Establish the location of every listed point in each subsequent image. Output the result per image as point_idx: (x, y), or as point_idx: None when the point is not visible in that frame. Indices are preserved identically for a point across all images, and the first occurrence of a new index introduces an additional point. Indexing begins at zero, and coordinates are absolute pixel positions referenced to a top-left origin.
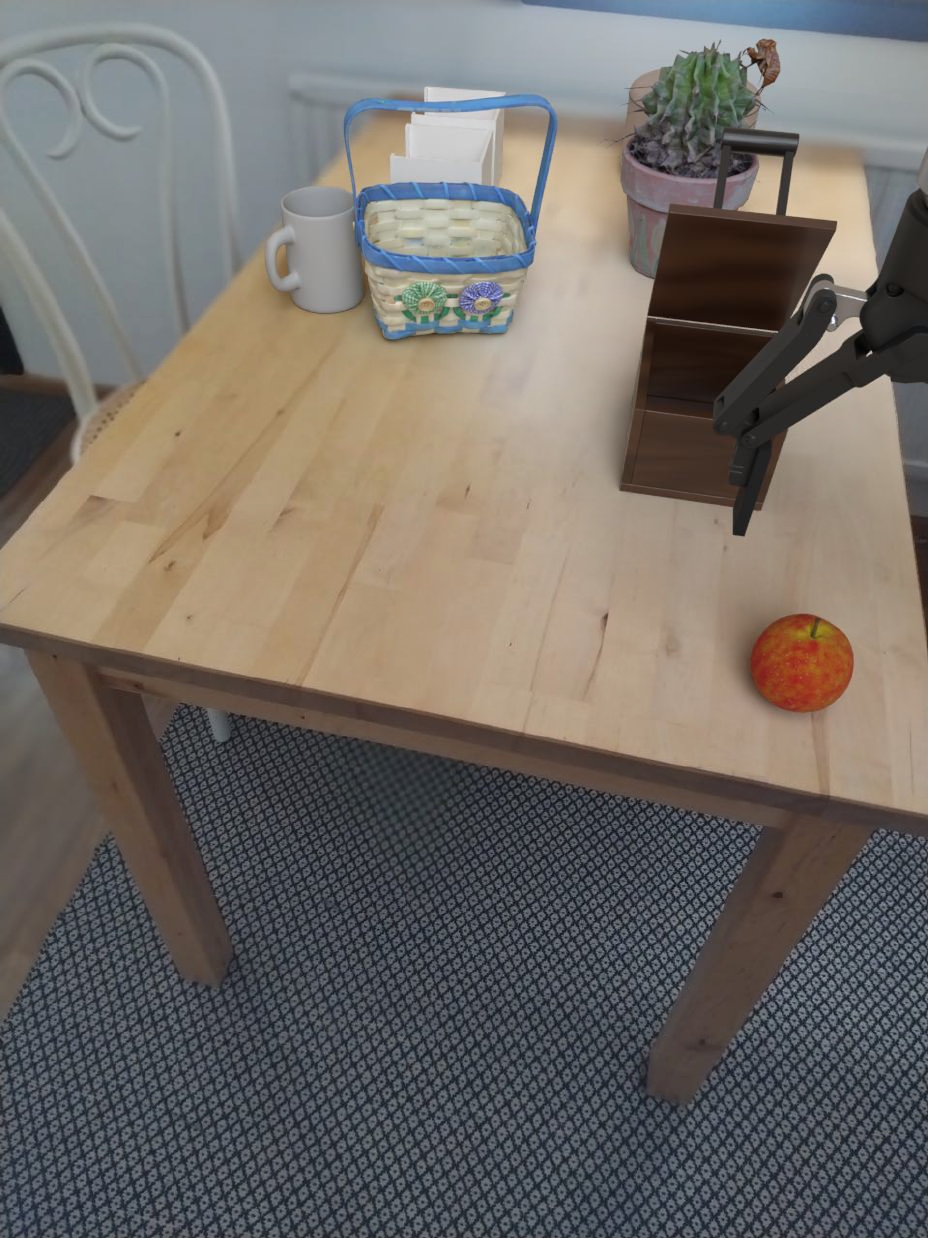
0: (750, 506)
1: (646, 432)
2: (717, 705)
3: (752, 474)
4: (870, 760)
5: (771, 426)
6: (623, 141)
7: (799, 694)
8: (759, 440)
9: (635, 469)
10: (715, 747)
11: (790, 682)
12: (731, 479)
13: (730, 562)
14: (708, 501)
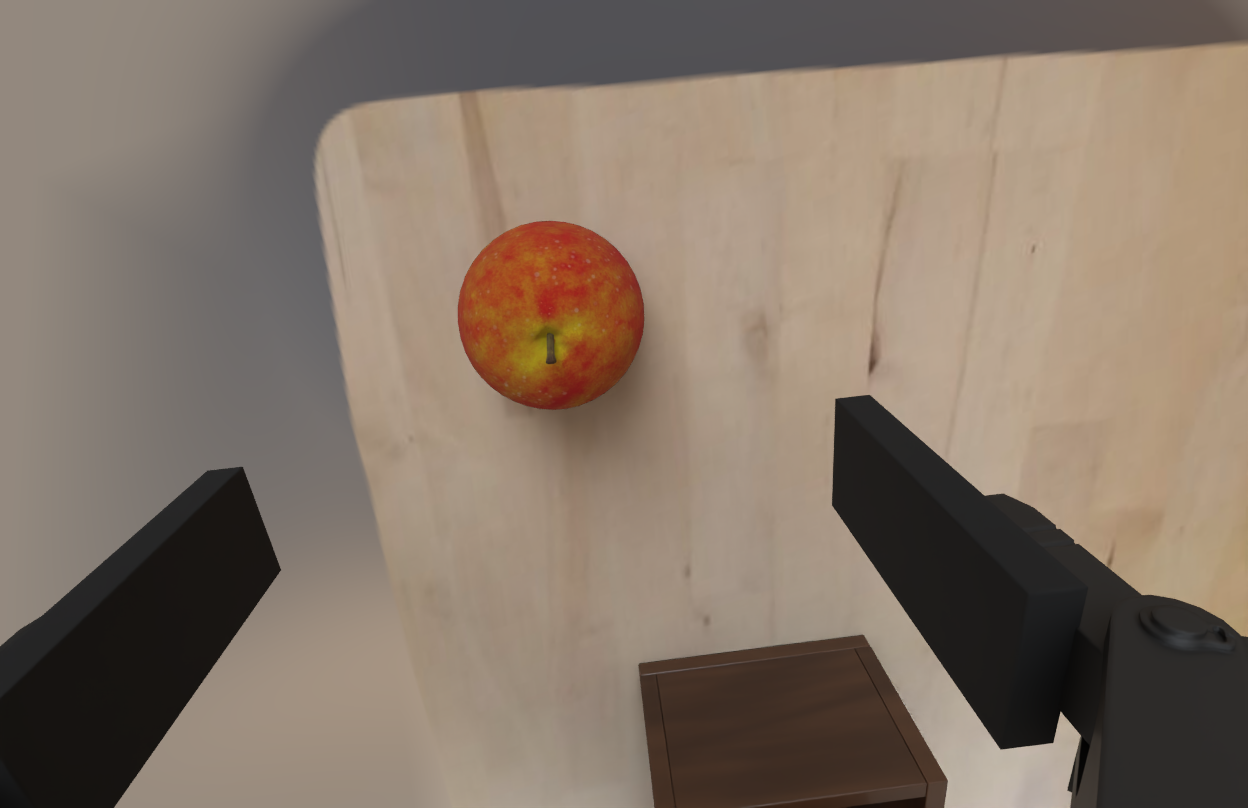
0: (897, 448)
1: (894, 740)
2: (669, 229)
3: (1003, 517)
4: (399, 192)
5: (1194, 717)
6: None
7: (549, 224)
8: (1142, 637)
9: (864, 672)
10: (664, 130)
11: (572, 234)
12: (1019, 507)
13: (676, 546)
14: (723, 655)
